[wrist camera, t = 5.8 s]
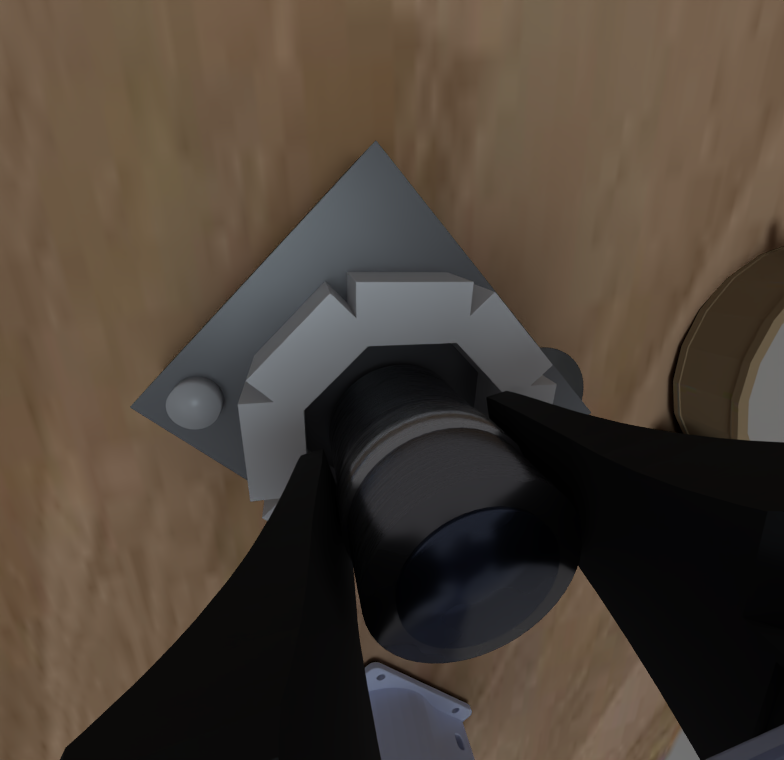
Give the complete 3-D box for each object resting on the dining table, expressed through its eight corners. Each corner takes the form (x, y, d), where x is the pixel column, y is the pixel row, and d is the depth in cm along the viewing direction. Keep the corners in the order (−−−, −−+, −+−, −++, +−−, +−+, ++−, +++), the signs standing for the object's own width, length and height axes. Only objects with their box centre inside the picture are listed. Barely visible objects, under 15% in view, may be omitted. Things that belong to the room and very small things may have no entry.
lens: (449, 342, 12) (588, 438, 7) (472, 462, 14) (595, 616, 8) (305, 389, 11) (321, 539, 6) (348, 507, 13) (392, 707, 8)
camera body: (546, 382, 18) (631, 439, 13) (389, 526, 19) (417, 623, 14) (359, 157, 13) (392, 123, 8) (162, 370, 14) (97, 443, 9)
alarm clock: (990, 258, 17) (870, 566, 20) (840, 266, 22) (759, 514, 24) (816, 203, 14) (701, 575, 17) (685, 227, 19) (611, 514, 21)
